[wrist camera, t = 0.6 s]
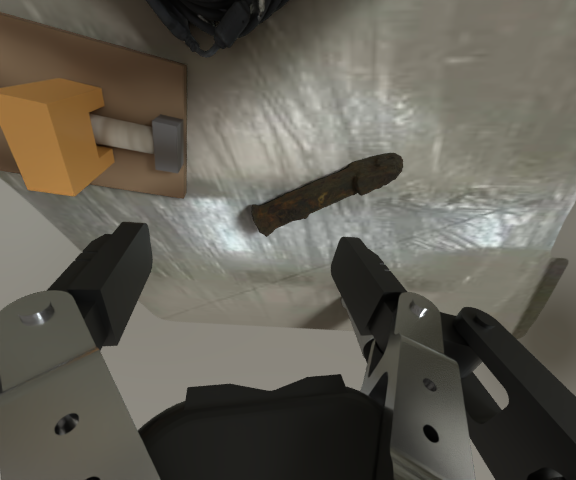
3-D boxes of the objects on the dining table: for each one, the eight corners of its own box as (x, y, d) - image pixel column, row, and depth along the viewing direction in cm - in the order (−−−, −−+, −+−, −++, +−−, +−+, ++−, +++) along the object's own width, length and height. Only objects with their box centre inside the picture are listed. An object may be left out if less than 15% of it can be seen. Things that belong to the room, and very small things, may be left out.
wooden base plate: (-81, -11, 17) (-155, -24, 14) (186, 64, 22) (175, 68, 19) (0, 162, 25) (-36, 180, 22) (186, 192, 29) (178, 210, 26)
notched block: (59, 78, 20) (-15, 90, 14) (101, 88, 21) (46, 103, 15) (80, 156, 24) (27, 189, 18) (114, 162, 24) (74, 196, 19)
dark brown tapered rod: (262, 224, 34) (264, 245, 30) (249, 202, 32) (249, 222, 28) (394, 171, 31) (413, 188, 28) (392, 142, 29) (412, 156, 25)
